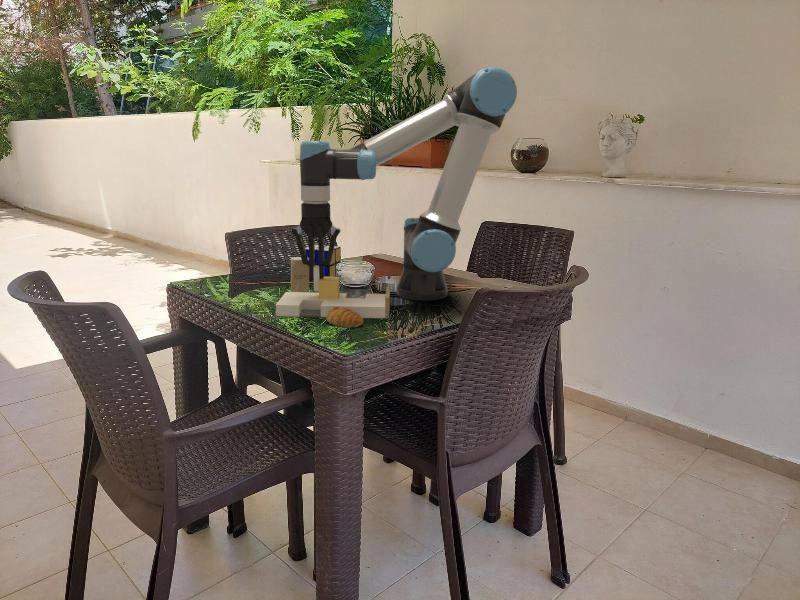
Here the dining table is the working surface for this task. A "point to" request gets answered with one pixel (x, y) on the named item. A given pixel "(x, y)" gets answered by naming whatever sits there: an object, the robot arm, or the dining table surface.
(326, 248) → the puzzle cube
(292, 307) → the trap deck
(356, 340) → the dining table surface
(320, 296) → the ochre block
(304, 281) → the box
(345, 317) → the pastry
